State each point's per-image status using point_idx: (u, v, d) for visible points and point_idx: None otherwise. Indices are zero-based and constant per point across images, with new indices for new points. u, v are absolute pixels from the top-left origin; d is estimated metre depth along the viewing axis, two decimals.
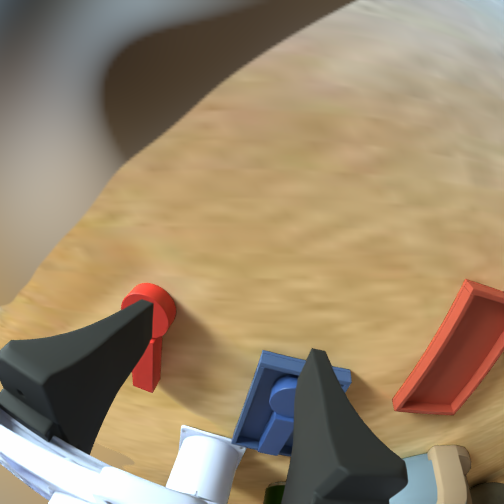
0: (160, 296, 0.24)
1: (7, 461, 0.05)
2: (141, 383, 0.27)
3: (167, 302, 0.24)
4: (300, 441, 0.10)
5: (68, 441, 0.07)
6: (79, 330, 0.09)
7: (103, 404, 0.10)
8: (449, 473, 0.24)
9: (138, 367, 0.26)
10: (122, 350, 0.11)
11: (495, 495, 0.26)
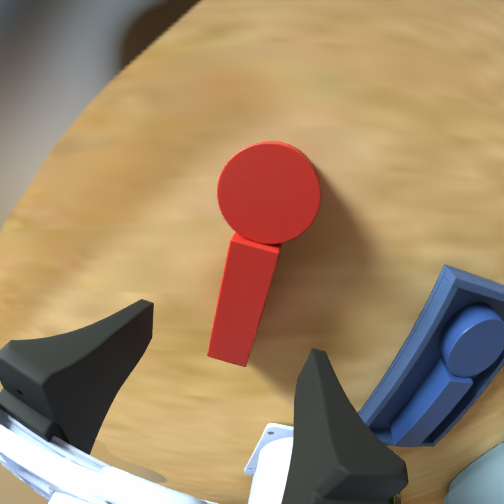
0: (303, 155, 0.13)
1: (7, 461, 0.05)
2: (227, 348, 0.16)
3: None
4: (300, 441, 0.10)
5: (68, 441, 0.07)
6: (79, 330, 0.09)
7: (103, 404, 0.10)
8: None
9: (230, 314, 0.15)
10: (122, 350, 0.11)
11: None
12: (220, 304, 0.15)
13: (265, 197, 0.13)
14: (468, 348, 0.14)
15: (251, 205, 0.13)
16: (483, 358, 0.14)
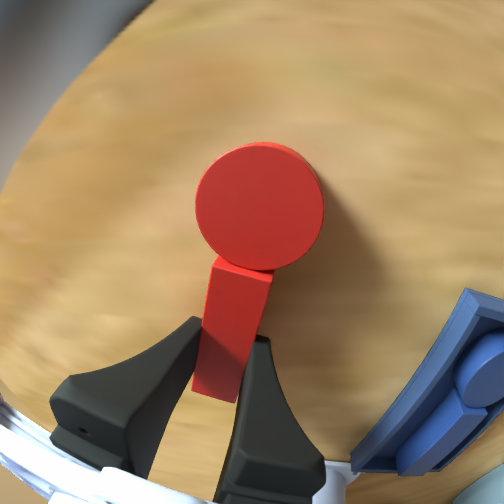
0: (303, 159, 0.10)
1: (7, 461, 0.05)
2: (213, 384, 0.13)
3: (316, 176, 0.10)
4: (235, 427, 0.10)
5: (135, 473, 0.07)
6: (139, 356, 0.09)
7: (161, 428, 0.10)
8: None
9: (214, 349, 0.12)
10: (180, 372, 0.11)
11: None
12: (203, 338, 0.12)
13: (254, 213, 0.10)
14: (486, 380, 0.11)
15: (237, 223, 0.11)
16: (500, 388, 0.11)
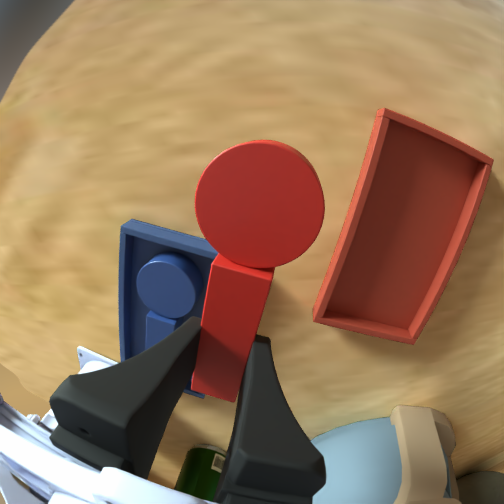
0: (303, 157, 0.10)
1: (7, 461, 0.05)
2: (213, 383, 0.13)
3: (316, 174, 0.10)
4: (235, 427, 0.10)
5: (135, 473, 0.07)
6: (139, 355, 0.09)
7: (161, 428, 0.10)
8: (419, 444, 0.20)
9: (214, 348, 0.12)
10: (180, 372, 0.11)
11: (490, 486, 0.22)
12: (202, 336, 0.12)
13: (254, 210, 0.10)
14: (151, 287, 0.20)
15: (237, 221, 0.11)
16: (175, 302, 0.20)
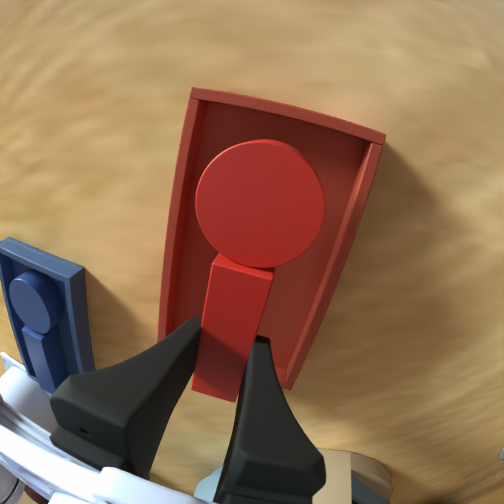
0: (304, 156, 0.10)
1: (7, 461, 0.05)
2: (213, 383, 0.13)
3: (316, 173, 0.10)
4: (235, 427, 0.10)
5: (135, 473, 0.07)
6: (139, 356, 0.09)
7: (161, 428, 0.10)
8: (320, 498, 0.17)
9: (215, 348, 0.12)
10: (180, 372, 0.11)
11: None
12: (203, 336, 0.12)
13: (255, 210, 0.10)
14: (19, 303, 0.17)
15: (237, 220, 0.11)
16: (37, 318, 0.17)
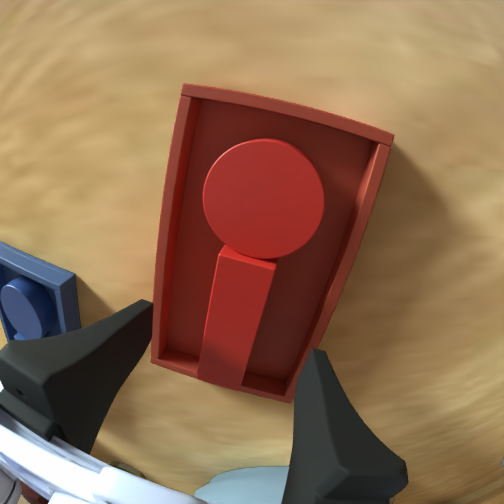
0: (304, 154, 0.11)
1: (7, 461, 0.05)
2: (218, 372, 0.14)
3: None
4: (300, 441, 0.10)
5: (68, 441, 0.07)
6: (79, 330, 0.09)
7: (103, 404, 0.10)
8: None
9: (220, 336, 0.13)
10: (122, 350, 0.11)
11: None
12: (208, 325, 0.13)
13: (259, 204, 0.11)
14: (11, 310, 0.16)
15: (242, 213, 0.11)
16: (29, 326, 0.16)
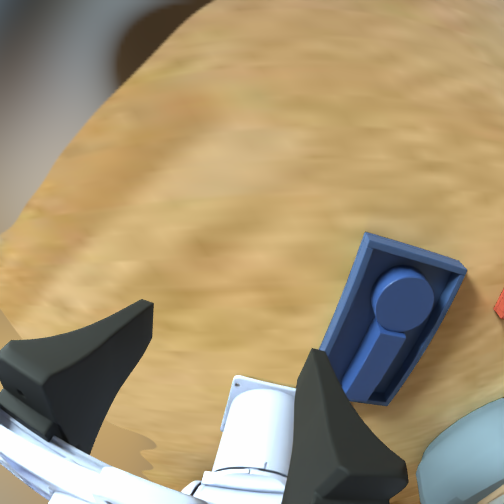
0: None
1: (7, 461, 0.05)
2: None
3: None
4: (300, 441, 0.10)
5: (68, 441, 0.07)
6: (79, 330, 0.09)
7: (103, 404, 0.10)
8: None
9: None
10: (122, 350, 0.11)
11: None
12: None
13: None
14: (393, 303, 0.19)
15: None
16: (412, 315, 0.19)
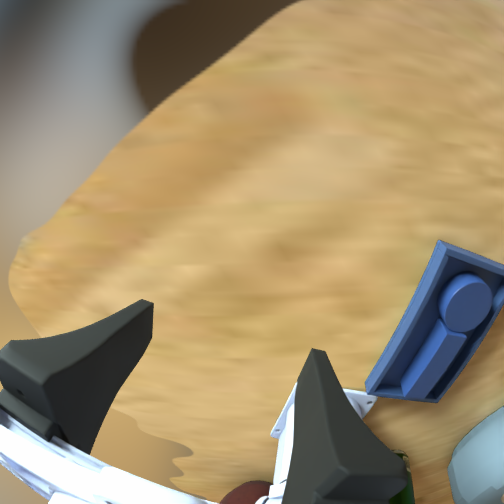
0: None
1: (7, 461, 0.05)
2: None
3: None
4: (300, 441, 0.10)
5: (68, 441, 0.07)
6: (79, 330, 0.09)
7: (103, 404, 0.10)
8: None
9: None
10: (122, 350, 0.11)
11: None
12: None
13: None
14: (460, 306, 0.18)
15: None
16: (473, 316, 0.18)
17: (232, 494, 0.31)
